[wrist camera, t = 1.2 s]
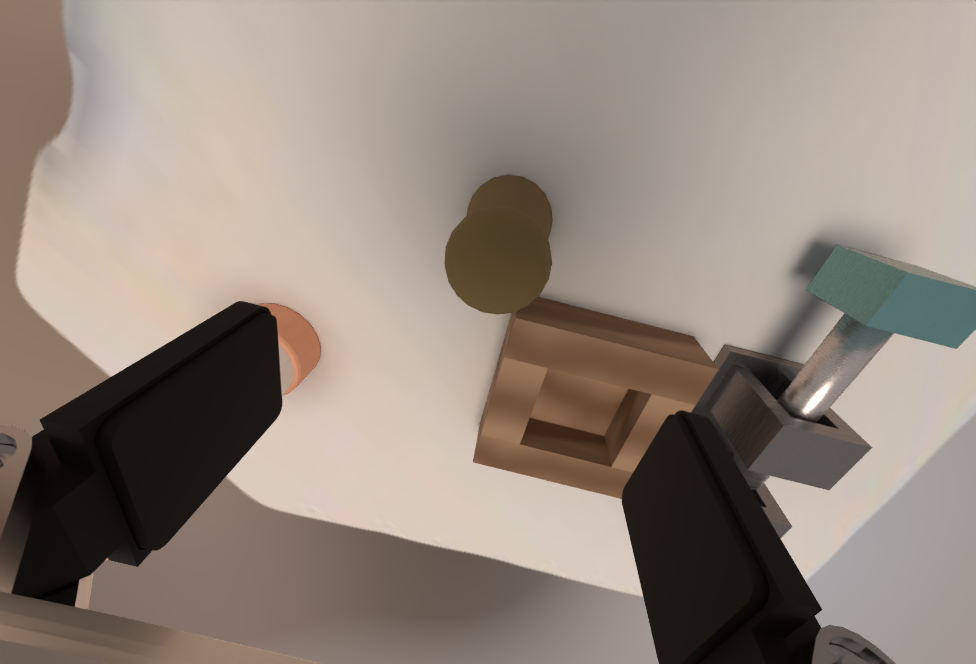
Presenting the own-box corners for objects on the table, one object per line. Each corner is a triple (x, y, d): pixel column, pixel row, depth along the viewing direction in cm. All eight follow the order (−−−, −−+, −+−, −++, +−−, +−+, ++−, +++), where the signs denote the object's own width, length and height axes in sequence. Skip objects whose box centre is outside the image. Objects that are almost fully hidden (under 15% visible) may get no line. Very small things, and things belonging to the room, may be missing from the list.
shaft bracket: (724, 344, 29) (782, 410, 23) (811, 366, 30) (895, 438, 23) (639, 481, 37) (663, 560, 30) (708, 498, 37) (747, 581, 30)
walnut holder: (518, 292, 29) (515, 317, 25) (693, 336, 29) (718, 369, 25) (479, 425, 36) (472, 462, 32) (622, 460, 36) (633, 501, 32)
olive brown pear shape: (569, 230, 27) (589, 288, 17) (500, 278, 29) (483, 353, 19) (518, 154, 25) (508, 171, 15) (449, 212, 27) (401, 259, 17)
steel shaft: (836, 245, 23) (908, 272, 18) (916, 265, 23) (1006, 298, 19) (698, 444, 31) (726, 496, 27) (757, 458, 31) (794, 513, 27)
